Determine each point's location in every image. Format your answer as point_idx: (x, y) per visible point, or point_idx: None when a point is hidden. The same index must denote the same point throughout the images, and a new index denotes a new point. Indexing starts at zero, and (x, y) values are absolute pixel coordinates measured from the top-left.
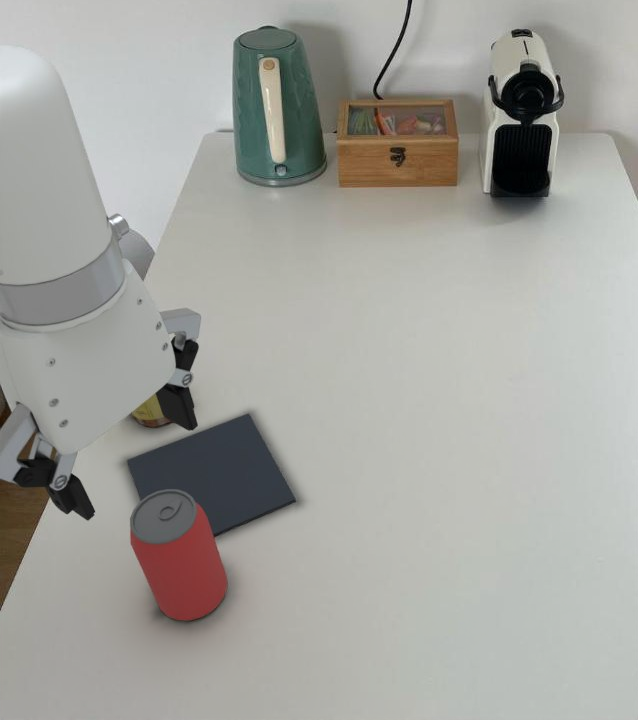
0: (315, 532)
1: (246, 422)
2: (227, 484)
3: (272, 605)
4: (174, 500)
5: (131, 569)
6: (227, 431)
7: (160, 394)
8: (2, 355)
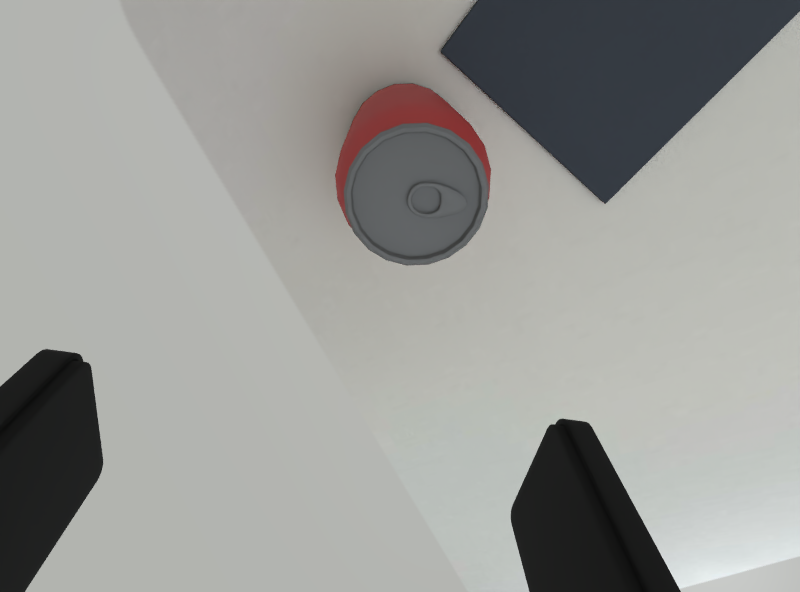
0: (554, 254)
1: (778, 15)
2: (614, 74)
3: None
4: (459, 196)
5: (401, 6)
6: None
7: (592, 566)
8: None
